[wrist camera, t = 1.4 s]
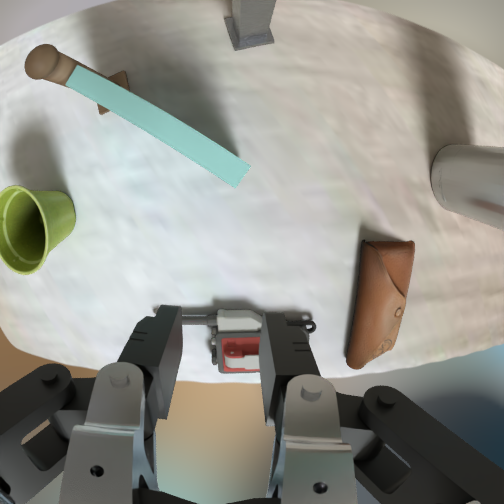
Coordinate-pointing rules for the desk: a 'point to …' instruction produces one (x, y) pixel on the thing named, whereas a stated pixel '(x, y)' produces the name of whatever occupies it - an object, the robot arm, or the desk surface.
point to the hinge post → (62, 68)
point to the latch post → (250, 23)
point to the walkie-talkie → (238, 338)
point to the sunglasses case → (379, 299)
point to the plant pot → (32, 226)
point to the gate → (160, 125)
